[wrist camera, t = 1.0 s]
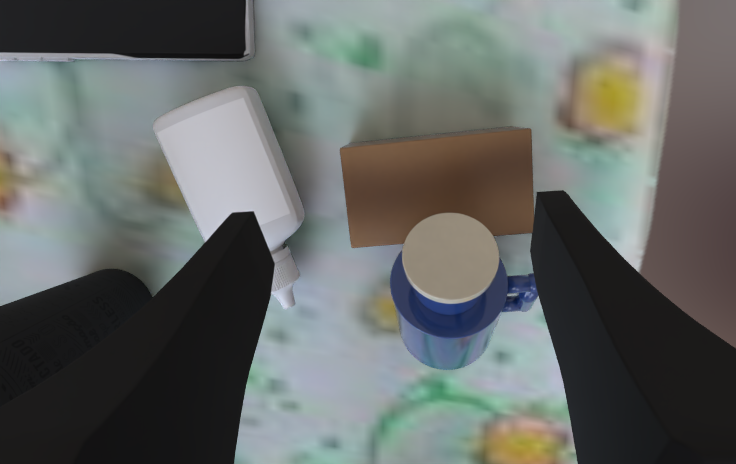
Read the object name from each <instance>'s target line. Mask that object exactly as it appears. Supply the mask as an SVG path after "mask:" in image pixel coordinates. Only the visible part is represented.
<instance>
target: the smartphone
mask: <svg viewBox="0 0 736 464" xmlns="http://www.w3.org/2000/svg"><path fill="white" fill-rule="evenodd" d="M254 55H255V40H254V12H253V0H0V61H18V60H20V61H58V62H75V61H74V59H100V60H197V61H246V60H248V59H251V58H253V57H254Z"/></svg>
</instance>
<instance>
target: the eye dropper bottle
mask: <svg viewBox="0 0 736 464" xmlns="http://www.w3.org/2000/svg"><path fill="white" fill-rule="evenodd" d="M153 130H154V133H155V135H156V137H157V140H158V142H159V144H160V146H161V149H162V151H163V153H164V155H165V157H166V160H167V162H168V164H169V166H170V168H171V171H172V173H173V175H174V177H175V179H176V182H177V184H178V186H179V188H180V190H181V193H182V195H183V197H184V199H185V201H186V204H187V206H188V208H189V210H190V212H191V214H192V217H193V219H194V221H195V223H196V225H197V227H198V229H199V232H200V234H201V236H202V238H203V240H204V242H206V241H207V240H208V239H209V238H210V236H211V235H212V234H213V233H214V232H215V231H216V230H217V228H218V227H219V226H220V225H221V224H222V223H223V222H224V221H225V219H226V218H227V217H228V216H229V215H230V214H231V213H233V212H248V211H254V213H255V216H256V218H257V221H258V223H259V226H260V228H261V230H262V233H263V235H264V238H265V240H266V243H267V245H268V248H269V250H270V253H271V255H272V258H273V260H274V263H275V267H274V275H273V283H272V289H271V294H273V295H274V296H275V297H276V298H277V299H278V301H279V302H280V304H281V305H282V306H283V308H284V309H288V308H291V307H293V306H294V305H295V300H294V295H293V289H292V288H293V285H294V283H295V282H296V281H297V280H298V279H299V277H300V274H299V271H298V269H297V267H296V264H295V262H294V259H293V257H292V255H291V252H290V250H289V247H288V245H283V244H284V242H285V240H286V239H287V238H288V237H290V236H291V235H292V234H293V233H294V232H295V231H296V230H297V229H298V228H299V227H300V226H301V224H302V222H303V220H304V216H305V212H304V208H303V205H302V202H301V199H300V197H299V194H298V191H297V189H296V186H295V184H294V181H293V179H292V176H291V174H290V171H289V169H288V166H287V164H286V161H285V159H284V156H283V153H282V151H281V148H280V146H279V144H278V141H277V139H276V136H275V134H274V131H273V129H272V126H271V124H270V121H269V119H268V116H267V114H266V111H265V109H264V106H263V104H262V101H261V99H260V96H259V94H258V92H257V91H256V90H255V89H254V88H252V87H248V86H234V87H230V88H227V89H224V90H221V91H218V92H215V93H212V94H210V95H207V96H204V97H202V98H199V99H196V100H194V101H191V102H189V103H187V104H184V105H182V106H180V107H178V108H175V109H173V110H171V111H169V112H167V113H165V114H163V115H162V116H160V117H158V118H157V119H156V120H155V121H154V123H153Z"/></svg>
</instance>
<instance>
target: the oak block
mask: <svg viewBox="0 0 736 464" xmlns="http://www.w3.org/2000/svg"><path fill="white" fill-rule="evenodd" d="M340 155H341V164H342V172H343V181H344V189H345V198H346V207H347V215H348V224H349V232H350V241H351V247H352V248H359V247H370V246H382V245H394V244H404V242H405V240H406V237H407V236H408V234H409V232H410V231H411V230H412V229H413V228H414V227H415V226H416V225H417V224H418V223H419V222H421V221H422V220H424V219H426V218H428V217H430V216H433V215H436V214H441V213H459V214H464V215H467V216H469V217H472V218H474V219H476V220H477V221H479V222H480V223H482V224H483V225H484V226H485V227H486V228H487V229H488V230H489V231H490V232H491V234H492V235H493V236H500V235H512V234H524V233H532V232H533V223H534V200H533V168H532V135H531V129H530V128H522V127H513V126H510V127H501V128H491V129H481V130H472V131H462V132H452V133H443V134H433V135H424V136H414V137H404V138H395V139H385V140H376V141H366V142H356V143H349V144H347V145H345V146H344V147H342V148H340Z"/></svg>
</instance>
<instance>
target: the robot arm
mask: <svg viewBox="0 0 736 464" xmlns="http://www.w3.org/2000/svg"><path fill="white" fill-rule="evenodd" d="M530 252H531V259H532V265H533V272H534V277H535V283H536V288H537V292H538V295H539V299H540V302H541V306H542V309H543V312H544V316H545V319H546V323H547V326H548V329H549V333H550V336H551V339H552V343H553V346H554V349H555V353H556V356H557V360H558V363H559V366H560V370H561V375H562V379H563V383H564V388H565V393H566V399H567V404H568V409H569V415H570V420H571V426H572V432H573V438H574V443H575V449H576V455H577V461H578V464H736V348H734V347H733V346H731V345H730V344H728V343H727V342H725V341H724V340H723V339H721V338H720V337H718V336H717V335H715V334H714V333H712V332H711V331H710V330H708V329H707V328H705V327H704V326H702V325H701V324H699V323H698V322H696V321H695V320H694V319H693V318H691V317H690V316H689V315H687V314H686V313H685V312H683V311H682V310H681V309H680V308H678V307H677V306H676V305H675V304H674V303H672V302H671V301H670V300H669V299H668V298H666V297H665V296H664V295H663V294H662V293H660V292H659V291H658V290H657V289H656V288H655V287H653V286H652V285H651V284H650V283H649V282H648V281H647V280H646V279H645V278H644V277H642V275H640V274H639V273H638V272H637V271H636V270H635V269H634V268H633V267H632V266H631V265H630V264H629V263H628V262H627V261H626V260H625V259H624V258H623V257H622V256H621V255H620V254H619V253H618V252H617V251H616V250H615V249H614V248H613V246H612V245H611V244H610V243H609V242H608V241H607V240H606V239H605V238H604V237H603V236H602V235H601V234H600V232H599V231H598V230H597V229H596V228H595V227H594V226H593V224H592V223H591V222H590V221H589V220H588V219H587V217H586V216H585V215H584V214H583V213H582V211H581V210H580V209H579V208H578V207H577V205H576V204H575V203H574V202H573V200H572V199H571V198H570V196H569V195H568V194H567V193H566V192H565V191H564V190H562V191H547V192H537V197H536V206H535V215H534V223H533V232H532V241H531V249H530ZM274 267H275V263H274V260H273V258H272V255H271V253H270V250H269V248H268V245H267V243H266V240H265V238H264V235H263V233H262V230H261V228H260V226H259V223H258V221H257V218H256V216H255V213H254V211H248V212H233V213H231V214H230V215H229V216H228V217H227V218H226V219H225V221H224V222H223V223H222V224H221V225H220V226H219V227H218V228H217V230H216V231H215V232H214V233H213V234H212V235H211V236H210V238H209V239H208V240H207V241H206V242H205V243H204V244H203V246H202V247H201V248H200V249H199V250H198V251H197V252H196V253H195V254H194V255H193V257H192V258H191V259H190V260H189V261H188V262H187V263H186V264H185V265H184V267H183V268H182V269H181V270H180V271H179V272H178V273H177V274H176V275H175V276H174V277H173V278H172V279H171V280H170V281H169V282H168V283H167V284H166V285H165V286H164V287H163V288H162V289H161V290H160V291H159V292H158V293H157V294H156V295H155V296H154V297H153V298H152V299H151V300H150V301H149V302H148V303H147V304H145V305H144V306H143V307H142V308H141V309H140V310H139V311H138V312H136V313H135V314H134V315H133V316H132V317H131V318H129V319H128V320H127V321H126V322H125V323H124V324H122V325H121V326H120V327H119V328H118V329H116V330H115V331H114V332H112V333H111V334H110V335H109V336H107V337H106V338H105V339H103V340H102V341H101V342H99V343H98V344H97V345H95V346H94V347H93V348H91V349H90V350H89V351H87V352H86V353H85V354H83V355H82V356H81V357H79V358H78V359H76V360H75V361H73V362H72V363H70V364H69V365H67V366H66V367H65V368H63V369H62V370H60V371H59V372H57V373H55V374H54V375H52V376H51V377H49V378H48V379H46V380H45V381H43V382H41V383H40V384H38V385H37V386H35V387H33V388H32V389H30V390H28V391H27V392H25V393H23V394H21V395H20V396H18V397H16V398H15V399H13V400H11V401H9V402H8V403H6V404H4V405H2V406H1V407H0V464H234V458H235V451H236V444H237V437H238V430H239V423H240V417H241V411H242V406H243V400H244V394H245V388H246V384H247V379H248V375H249V371H250V367H251V364H252V360H253V357H254V353H255V350H256V347H257V343H258V340H259V336H260V333H261V329H262V326H263V322H264V319H265V315H266V311H267V308H268V304H269V300H270V296H271V289H272V283H273V275H274Z"/></svg>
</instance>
